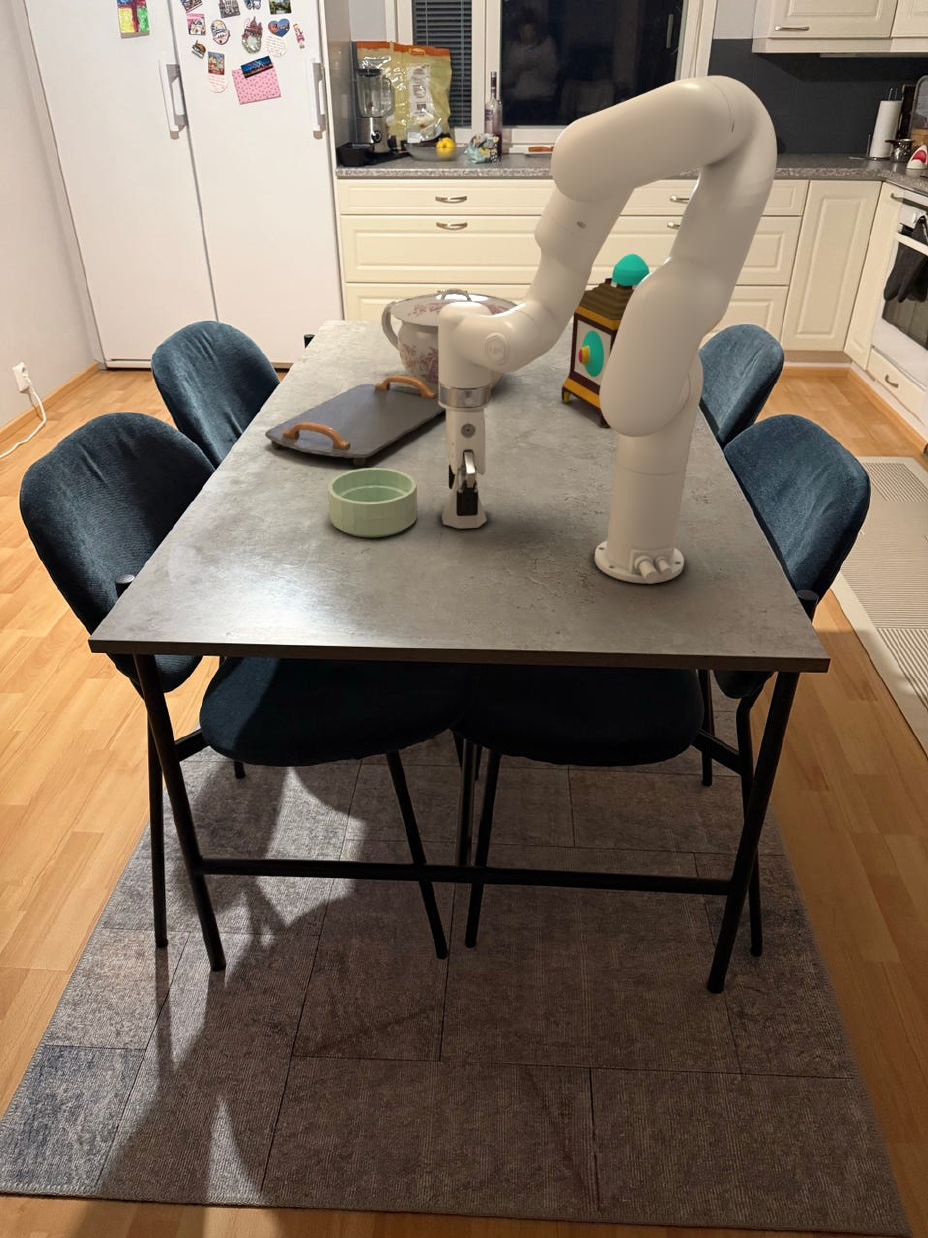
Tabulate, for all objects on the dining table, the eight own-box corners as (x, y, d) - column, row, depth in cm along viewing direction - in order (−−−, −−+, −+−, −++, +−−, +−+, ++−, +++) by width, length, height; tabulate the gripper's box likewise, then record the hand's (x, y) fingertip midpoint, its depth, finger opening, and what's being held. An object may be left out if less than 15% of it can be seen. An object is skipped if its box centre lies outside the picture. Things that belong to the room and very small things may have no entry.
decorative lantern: (551, 400, 190) (560, 247, 174) (632, 388, 196) (648, 241, 180) (600, 431, 174) (615, 267, 158) (686, 418, 181) (708, 259, 165)
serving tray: (369, 392, 193) (367, 363, 190) (464, 410, 184) (464, 380, 181) (253, 452, 164) (248, 419, 161) (359, 477, 155) (357, 443, 152)
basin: (420, 537, 136) (419, 501, 133) (331, 542, 135) (328, 506, 131) (413, 500, 147) (412, 465, 144) (330, 504, 146) (327, 469, 143)
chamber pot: (541, 397, 191) (546, 296, 180) (420, 415, 181) (418, 309, 170) (484, 362, 212) (486, 269, 201) (374, 376, 203) (369, 279, 192)
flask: (482, 532, 138) (483, 471, 132) (436, 527, 139) (435, 467, 134) (490, 512, 144) (492, 452, 138) (446, 508, 145) (446, 449, 140)
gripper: (499, 413, 124) (495, 525, 133) (481, 373, 138) (478, 477, 148) (445, 414, 123) (445, 527, 132) (432, 375, 137) (432, 479, 147)
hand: (462, 501), depth 140 cm, fingers open, 9 cm apart
